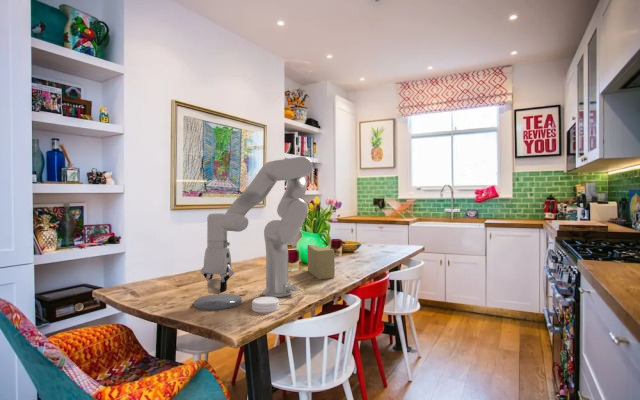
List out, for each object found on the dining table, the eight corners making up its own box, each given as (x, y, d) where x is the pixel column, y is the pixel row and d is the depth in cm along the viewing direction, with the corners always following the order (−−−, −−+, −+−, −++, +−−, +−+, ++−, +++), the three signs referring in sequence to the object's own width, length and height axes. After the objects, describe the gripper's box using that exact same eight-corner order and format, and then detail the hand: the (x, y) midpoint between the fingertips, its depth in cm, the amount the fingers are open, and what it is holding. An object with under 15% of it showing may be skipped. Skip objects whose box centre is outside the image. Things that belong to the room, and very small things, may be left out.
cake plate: (249, 298, 149) (249, 295, 149) (225, 312, 131) (225, 309, 131) (211, 295, 154) (211, 292, 154) (184, 308, 137) (183, 305, 137)
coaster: (280, 304, 141) (279, 295, 141) (277, 313, 131) (277, 303, 131) (254, 305, 140) (254, 296, 140) (250, 313, 130) (249, 304, 130)
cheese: (300, 271, 200) (300, 244, 199) (316, 270, 204) (316, 243, 204) (318, 280, 180) (317, 250, 180) (335, 278, 184) (335, 248, 184)
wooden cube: (226, 290, 144) (226, 278, 144) (218, 294, 139) (218, 281, 139) (215, 289, 145) (215, 277, 145) (207, 292, 141) (207, 280, 141)
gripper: (241, 244, 143) (241, 290, 143) (204, 242, 148) (204, 287, 148) (231, 247, 136) (231, 295, 136) (192, 245, 141) (192, 291, 141)
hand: (217, 290), depth 142 cm, fingers closed on wooden cube, 4 cm apart
